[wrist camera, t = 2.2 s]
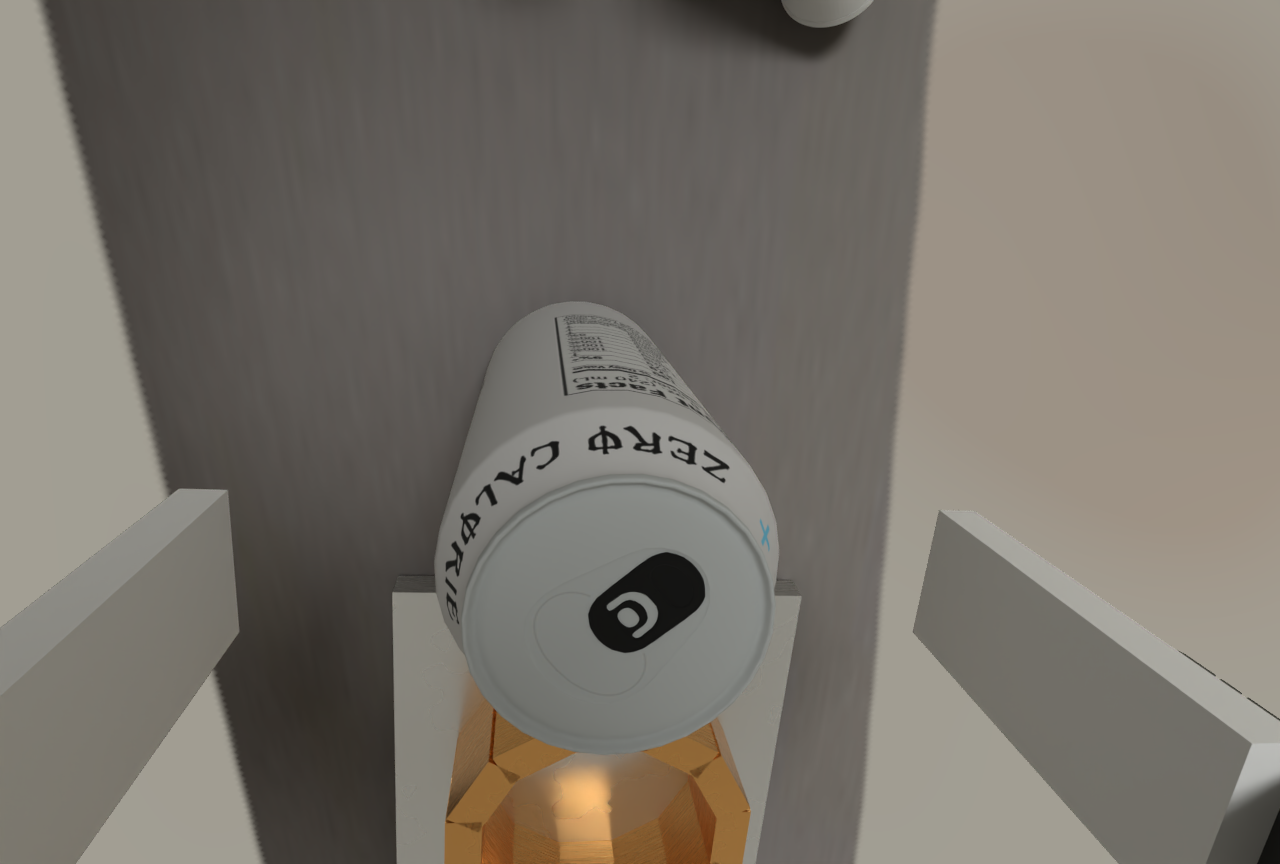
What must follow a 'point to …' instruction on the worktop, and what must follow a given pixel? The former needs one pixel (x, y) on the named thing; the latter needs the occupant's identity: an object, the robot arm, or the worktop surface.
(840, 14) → the wall hook
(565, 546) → the energy drink can
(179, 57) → the worktop surface
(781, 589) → the keeper
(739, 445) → the worktop surface
